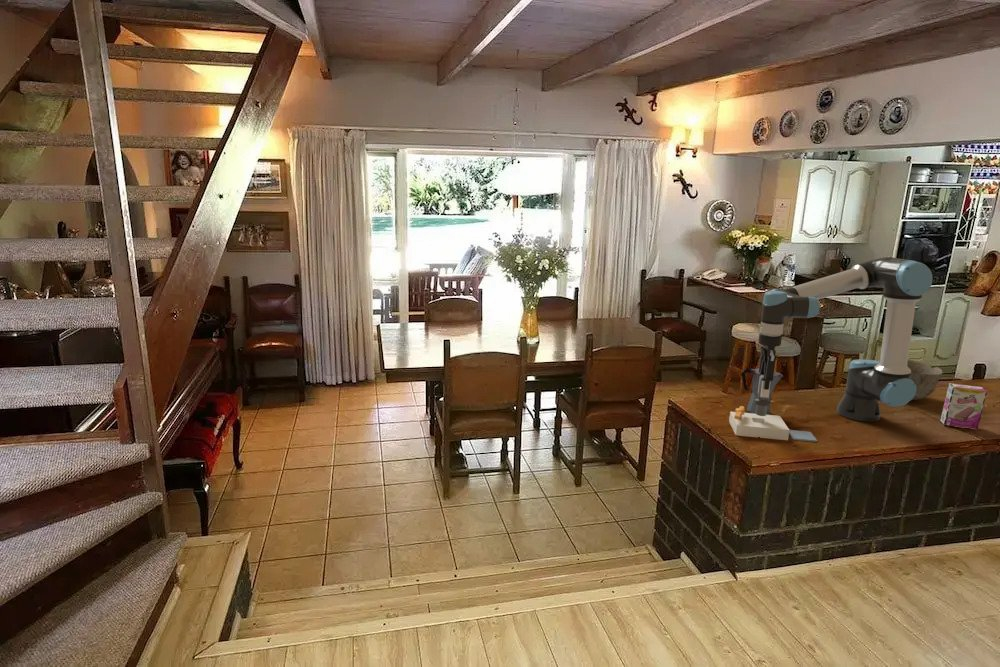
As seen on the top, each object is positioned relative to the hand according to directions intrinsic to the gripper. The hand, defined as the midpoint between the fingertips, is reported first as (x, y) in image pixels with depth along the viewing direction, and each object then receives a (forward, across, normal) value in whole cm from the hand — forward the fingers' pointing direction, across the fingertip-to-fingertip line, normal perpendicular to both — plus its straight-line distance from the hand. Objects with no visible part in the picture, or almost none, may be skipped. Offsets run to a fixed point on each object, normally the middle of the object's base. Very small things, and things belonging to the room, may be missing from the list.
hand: (763, 394), depth 219 cm
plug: (+8, 0, 0) cm, 8 cm away
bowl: (+16, -55, +72) cm, 92 cm away
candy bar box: (+15, -24, +78) cm, 83 cm away
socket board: (+14, 0, 0) cm, 14 cm away
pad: (+14, +2, +14) cm, 20 cm away
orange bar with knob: (+8, +1, -8) cm, 11 cm away
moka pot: (+14, -20, +4) cm, 25 cm away
